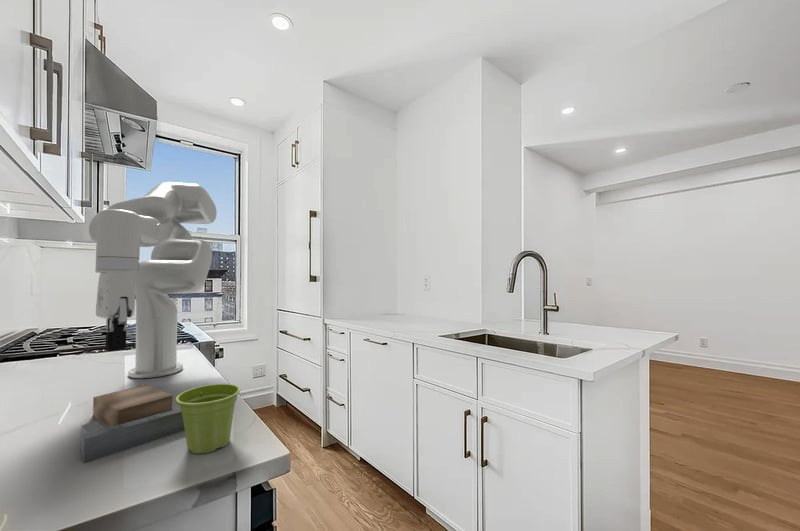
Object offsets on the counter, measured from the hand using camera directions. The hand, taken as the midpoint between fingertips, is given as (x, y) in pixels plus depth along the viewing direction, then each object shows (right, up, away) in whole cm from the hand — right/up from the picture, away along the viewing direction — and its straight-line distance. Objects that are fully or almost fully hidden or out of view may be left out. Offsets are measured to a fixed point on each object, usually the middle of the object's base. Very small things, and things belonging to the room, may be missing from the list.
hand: (115, 349), depth 76 cm
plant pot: (+31, -12, -18) cm, 38 cm away
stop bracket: (+18, -11, -14) cm, 25 cm away
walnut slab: (+9, -12, -6) cm, 16 cm away
